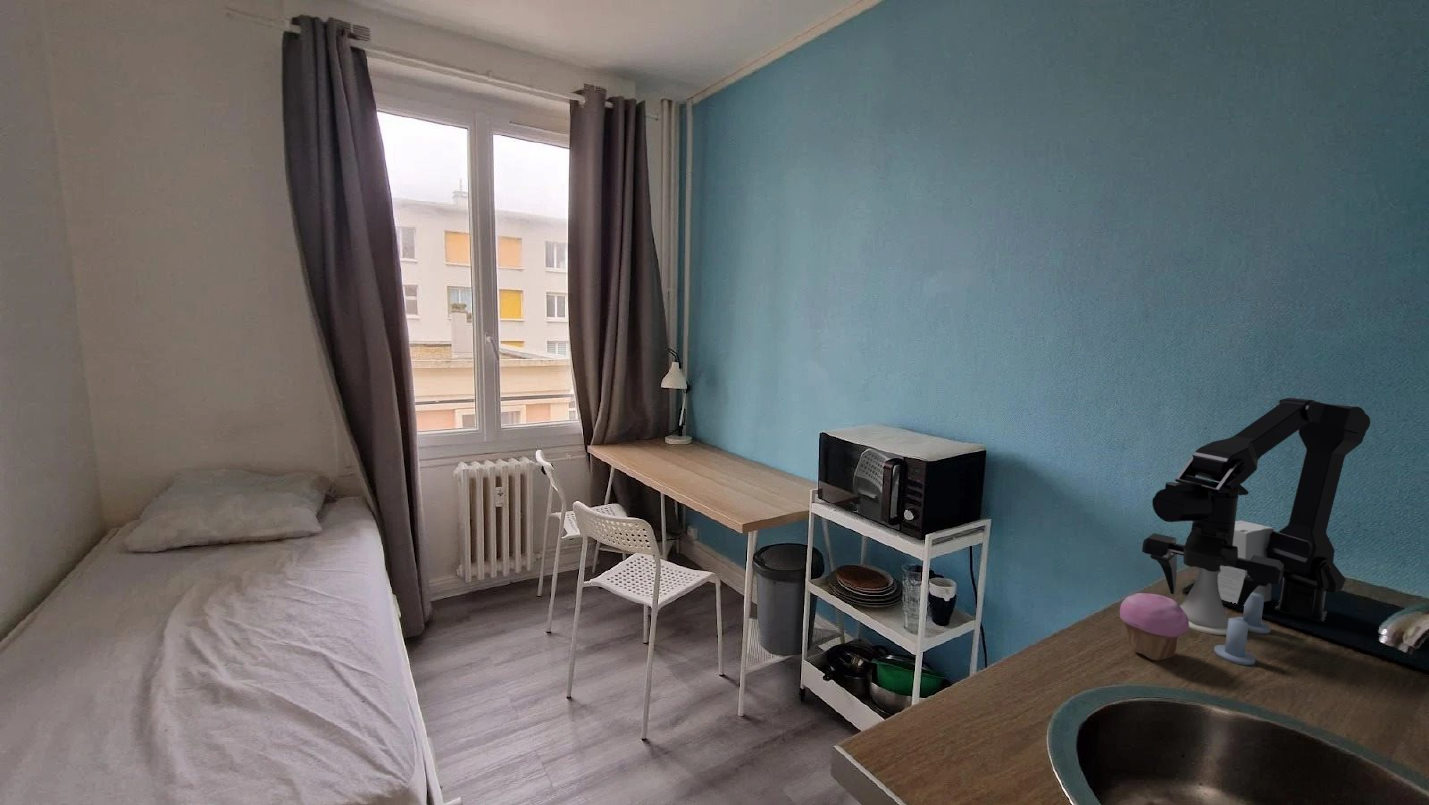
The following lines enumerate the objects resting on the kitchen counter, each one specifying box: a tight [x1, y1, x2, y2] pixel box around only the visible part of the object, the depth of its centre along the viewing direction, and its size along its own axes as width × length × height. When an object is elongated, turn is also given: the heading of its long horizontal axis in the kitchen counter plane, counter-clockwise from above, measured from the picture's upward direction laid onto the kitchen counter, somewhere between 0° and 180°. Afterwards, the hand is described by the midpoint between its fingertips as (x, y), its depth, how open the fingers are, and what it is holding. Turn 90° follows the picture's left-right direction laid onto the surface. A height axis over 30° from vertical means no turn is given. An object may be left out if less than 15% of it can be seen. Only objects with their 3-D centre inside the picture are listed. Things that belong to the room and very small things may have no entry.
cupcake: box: [1119, 592, 1190, 662], centre depth 94 cm, size 9×9×10 cm
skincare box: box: [1217, 520, 1275, 605], centre depth 114 cm, size 8×6×15 cm
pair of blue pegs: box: [1213, 592, 1272, 666], centre depth 99 cm, size 20×5×6 cm, turn 130°
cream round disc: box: [1188, 621, 1228, 636], centre depth 106 cm, size 9×9×1 cm
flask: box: [1179, 568, 1229, 628], centre depth 105 cm, size 7×7×10 cm
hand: (1204, 602), depth 105 cm, fingers open, 9 cm apart
